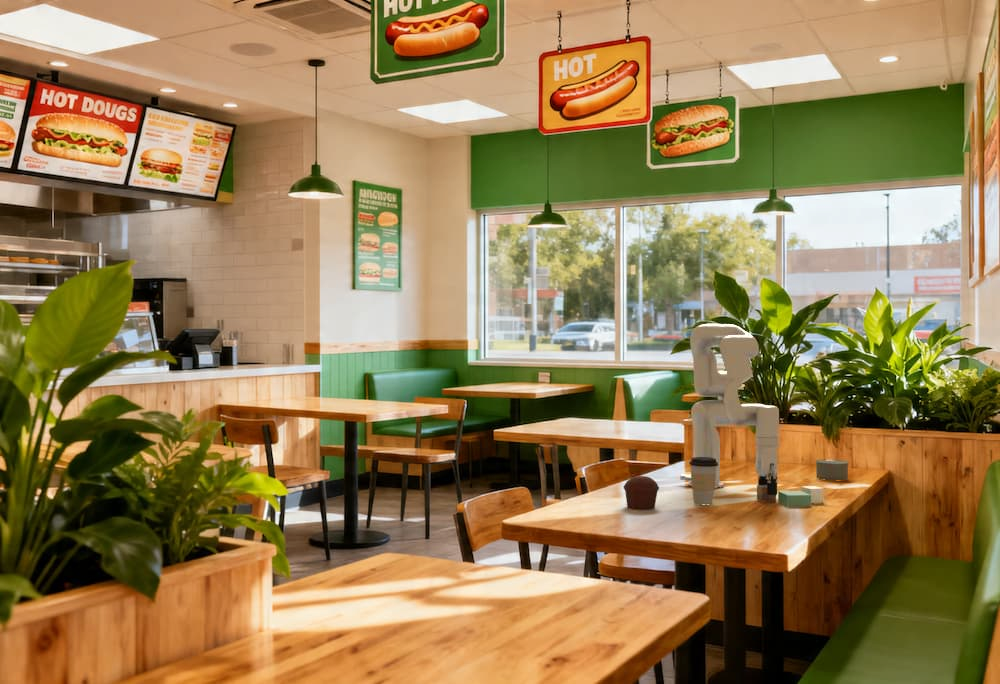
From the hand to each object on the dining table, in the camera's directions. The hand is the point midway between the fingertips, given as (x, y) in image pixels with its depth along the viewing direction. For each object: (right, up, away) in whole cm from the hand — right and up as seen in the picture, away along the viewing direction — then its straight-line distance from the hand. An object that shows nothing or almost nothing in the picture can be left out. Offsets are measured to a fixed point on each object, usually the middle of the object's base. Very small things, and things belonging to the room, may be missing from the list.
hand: (767, 492), depth 317 cm
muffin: (-45, -3, -14) cm, 47 cm away
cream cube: (+15, -3, -1) cm, 15 cm away
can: (+39, -3, +50) cm, 64 cm away
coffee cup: (-23, -3, -6) cm, 24 cm away
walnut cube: (0, -3, +1) cm, 3 cm away
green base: (+7, -3, -6) cm, 10 cm away
